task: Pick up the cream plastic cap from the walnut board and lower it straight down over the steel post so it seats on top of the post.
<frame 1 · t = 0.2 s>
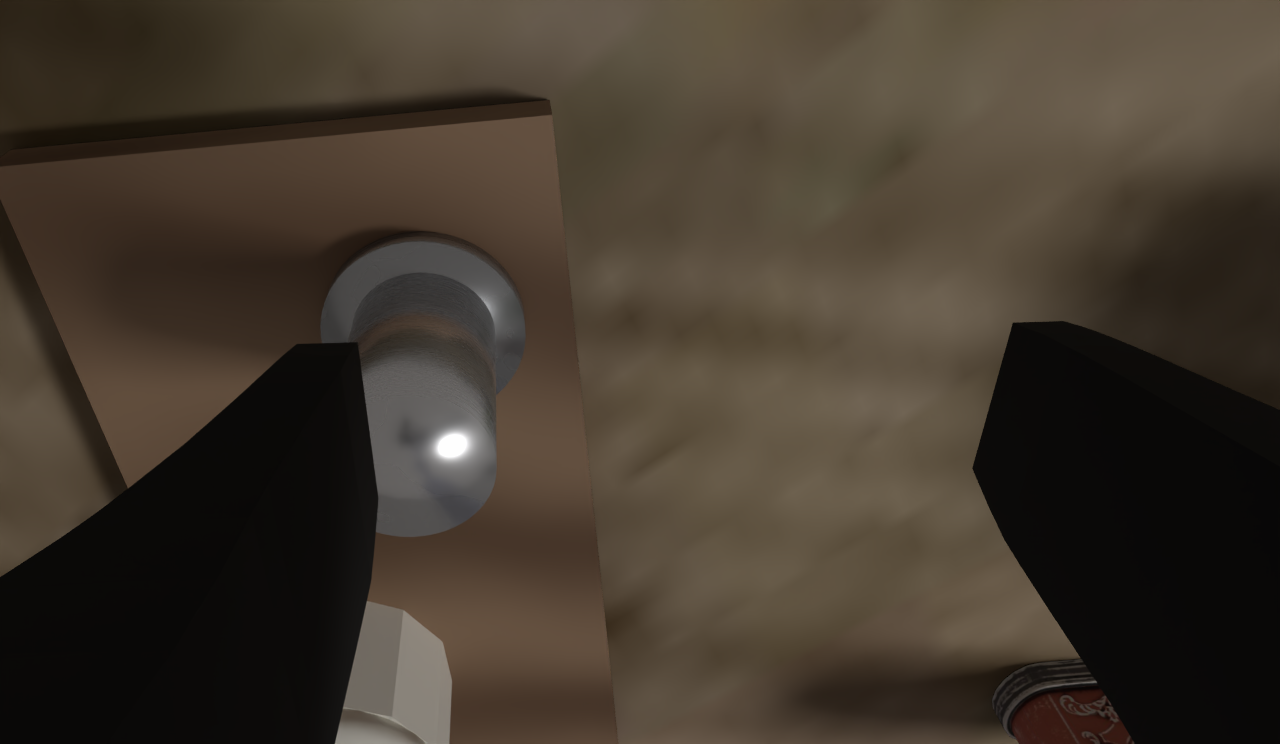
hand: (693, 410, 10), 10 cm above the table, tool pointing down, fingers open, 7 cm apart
post board: (389, 524, 23), on the table
lighter: (1101, 689, 31), on the table
cap: (338, 677, 24), point 1 cm above the table, touching post board
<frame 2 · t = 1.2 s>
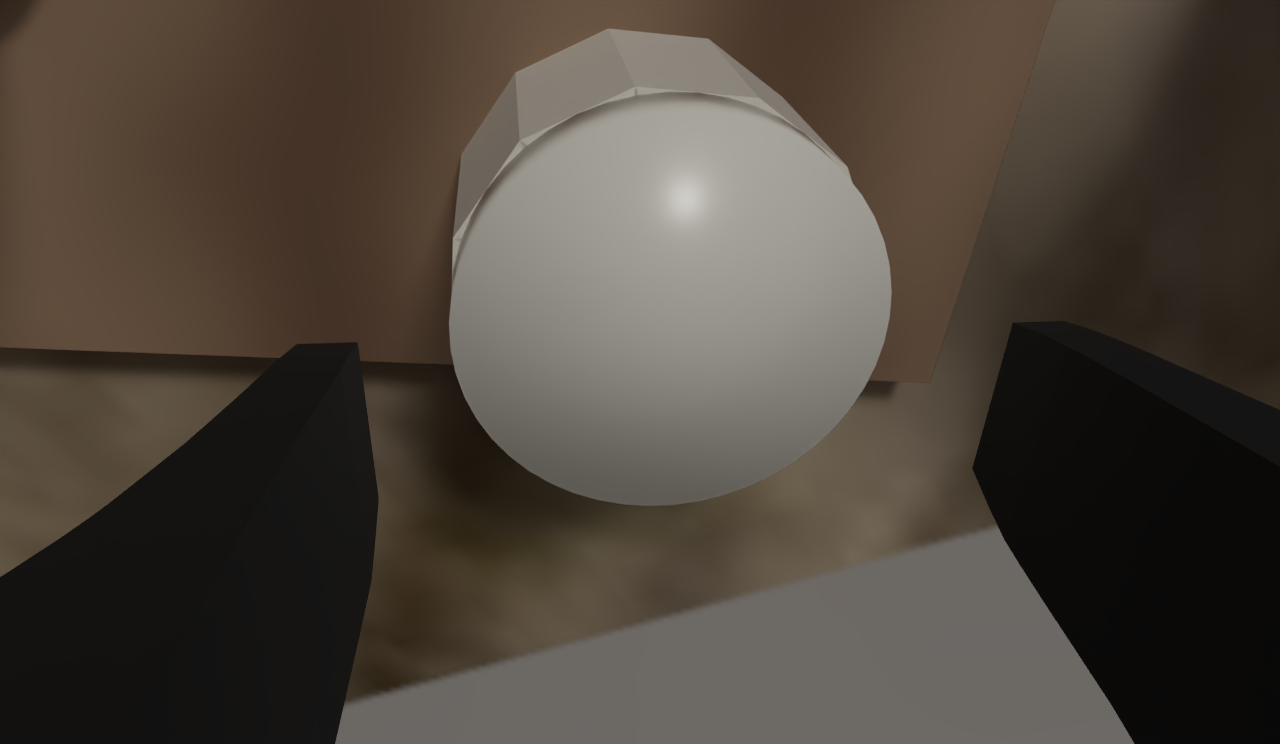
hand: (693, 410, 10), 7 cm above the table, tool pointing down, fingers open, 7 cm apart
post board: (385, 47, 14), on the table
cap: (636, 212, 15), point 1 cm above the table, touching post board
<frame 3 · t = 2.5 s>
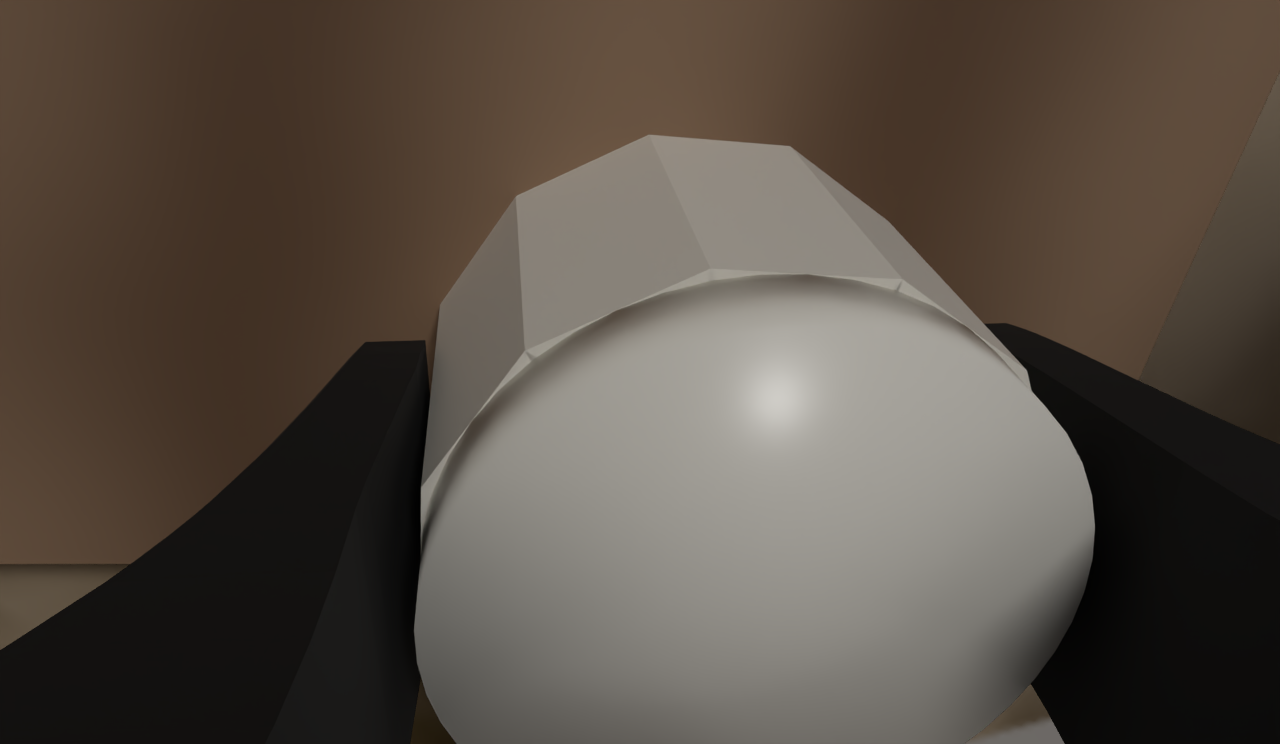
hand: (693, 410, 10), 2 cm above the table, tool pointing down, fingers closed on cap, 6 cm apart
post board: (333, 155, 10), on the table
cap: (681, 372, 11), point 1 cm above the table, touching gripper, post board
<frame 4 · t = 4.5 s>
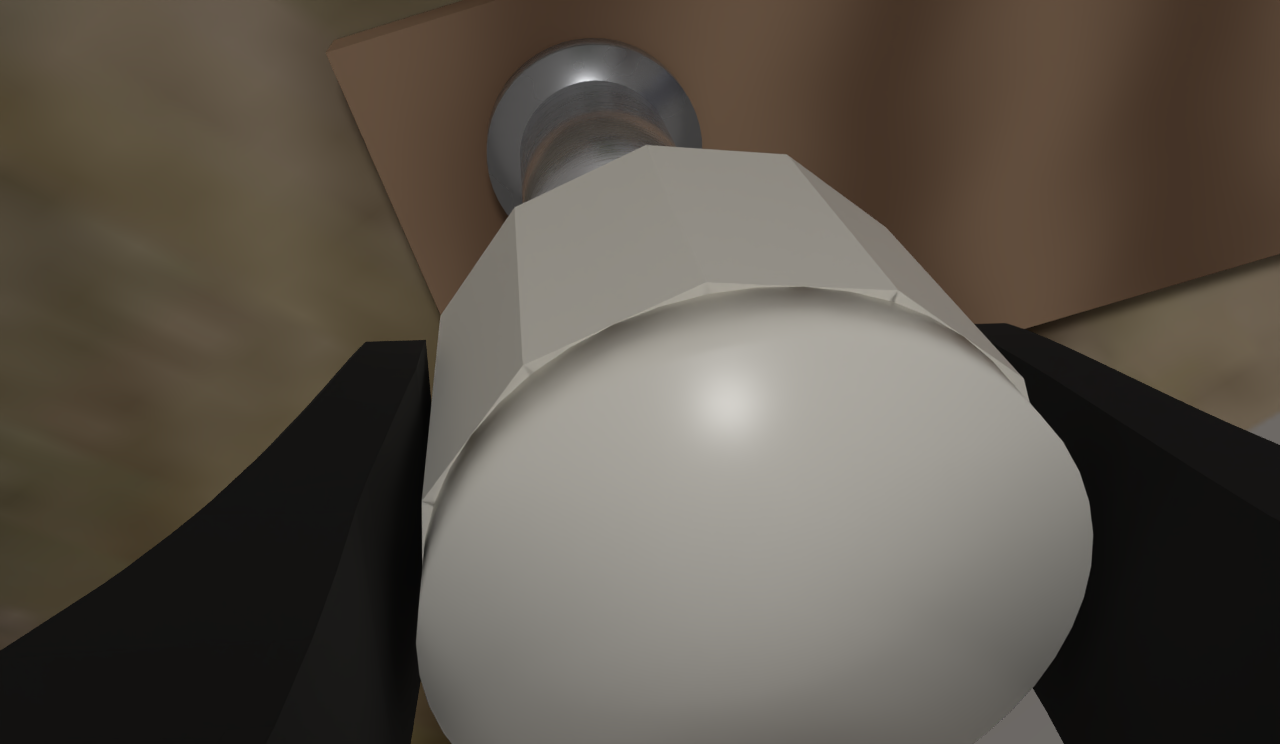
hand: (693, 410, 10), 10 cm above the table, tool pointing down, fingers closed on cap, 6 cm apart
post board: (890, 137, 20), on the table
cap: (681, 380, 11), point 9 cm above the table, touching gripper
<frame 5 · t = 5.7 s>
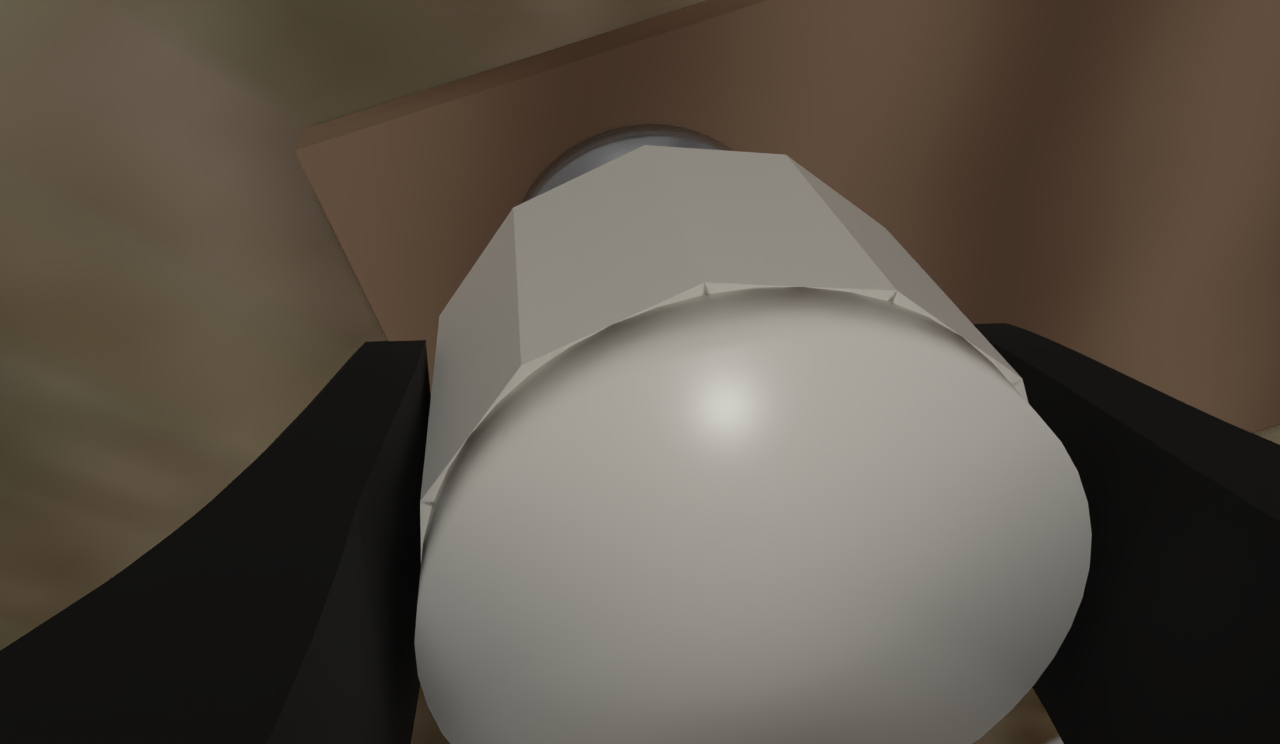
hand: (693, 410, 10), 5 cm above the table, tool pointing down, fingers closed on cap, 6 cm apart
post board: (1015, 230, 16), on the table
cap: (680, 380, 11), point 4 cm above the table, touching gripper
when the fingers open (5 cm above the table, at t = 6.8 s): cap drops 1 cm, resting on post board.
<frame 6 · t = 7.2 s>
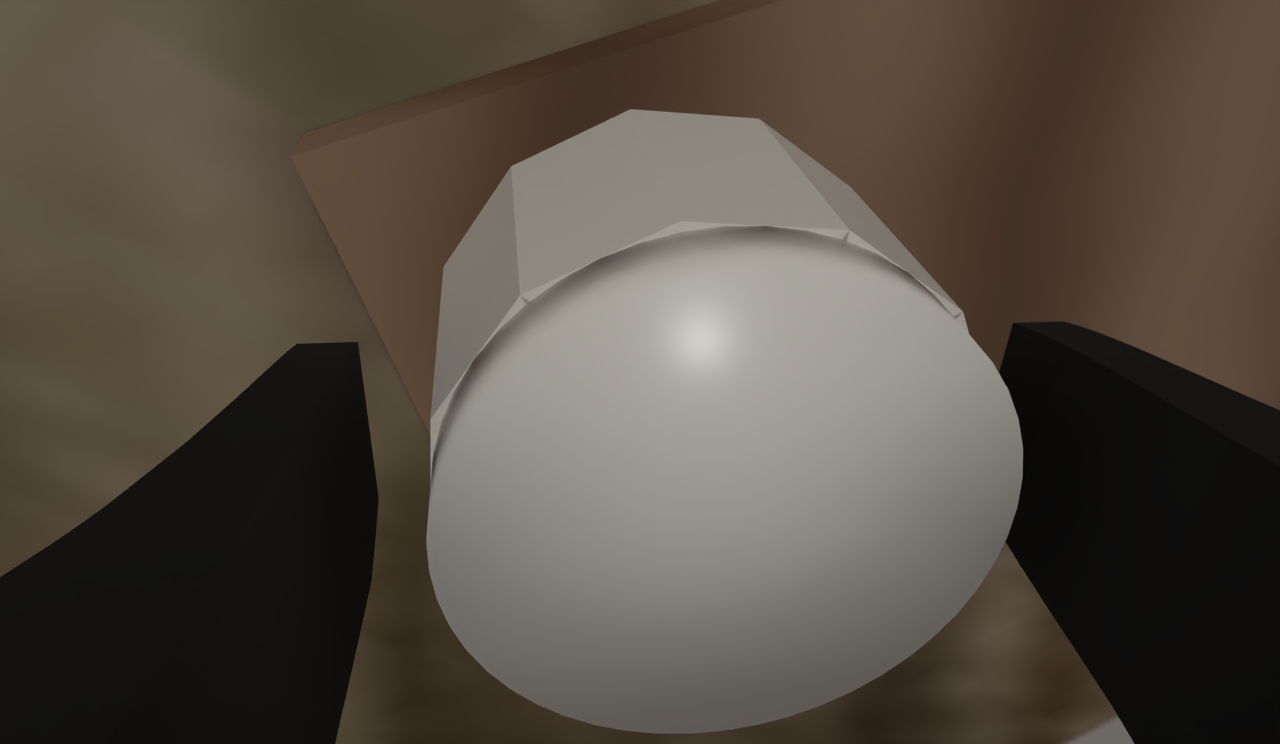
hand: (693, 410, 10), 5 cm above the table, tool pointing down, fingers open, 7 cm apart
post board: (1020, 236, 15), on the table
cap: (664, 328, 12), point 3 cm above the table, touching post board
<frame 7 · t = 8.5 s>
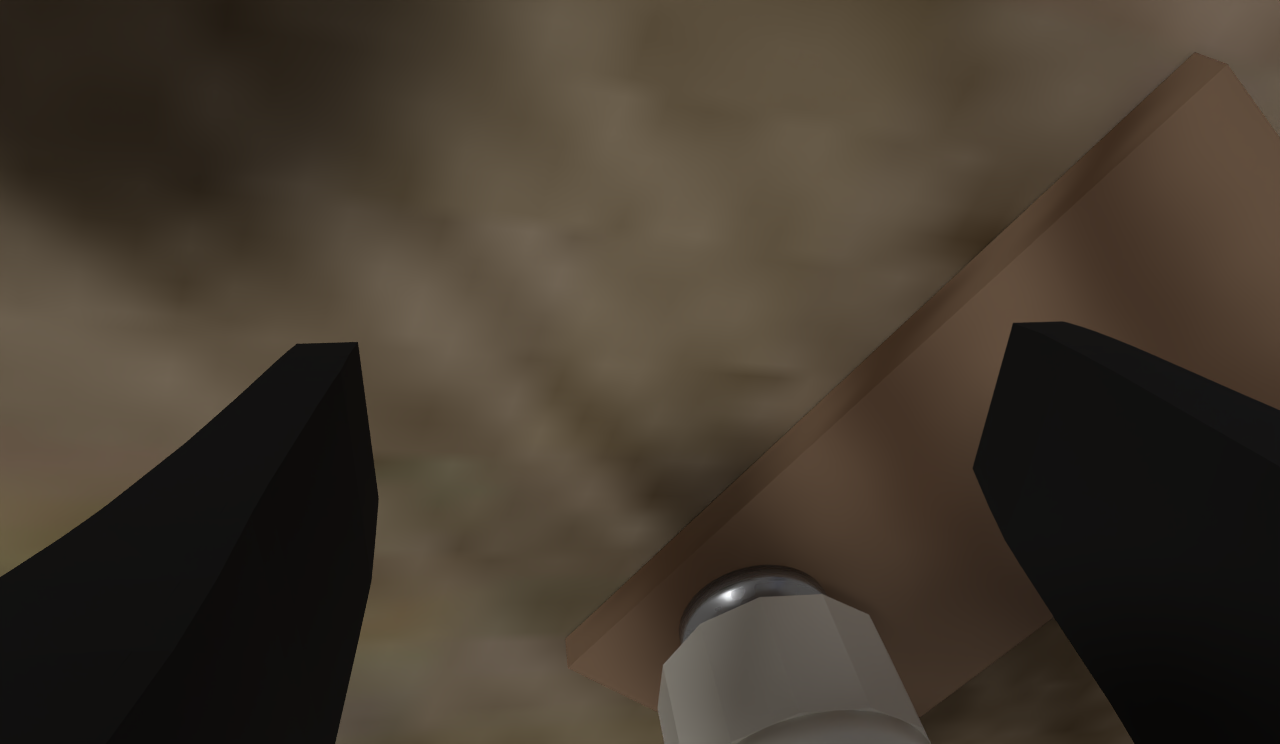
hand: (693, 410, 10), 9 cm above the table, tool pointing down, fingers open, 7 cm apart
post board: (960, 485, 24), on the table
cap: (772, 679, 23), point 3 cm above the table, touching post board
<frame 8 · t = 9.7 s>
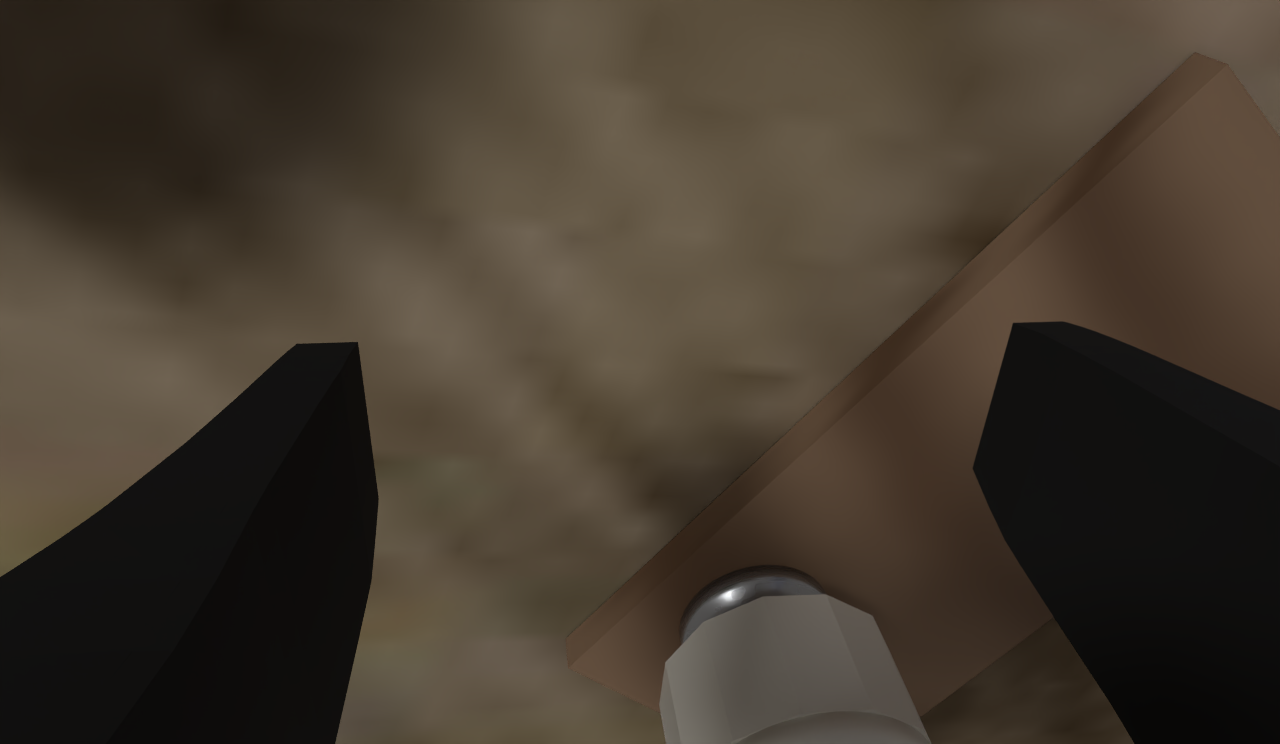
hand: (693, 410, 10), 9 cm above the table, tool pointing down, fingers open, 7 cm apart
post board: (961, 485, 24), on the table
cap: (774, 678, 23), point 3 cm above the table, touching post board
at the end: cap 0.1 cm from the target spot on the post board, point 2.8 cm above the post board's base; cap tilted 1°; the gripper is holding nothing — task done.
